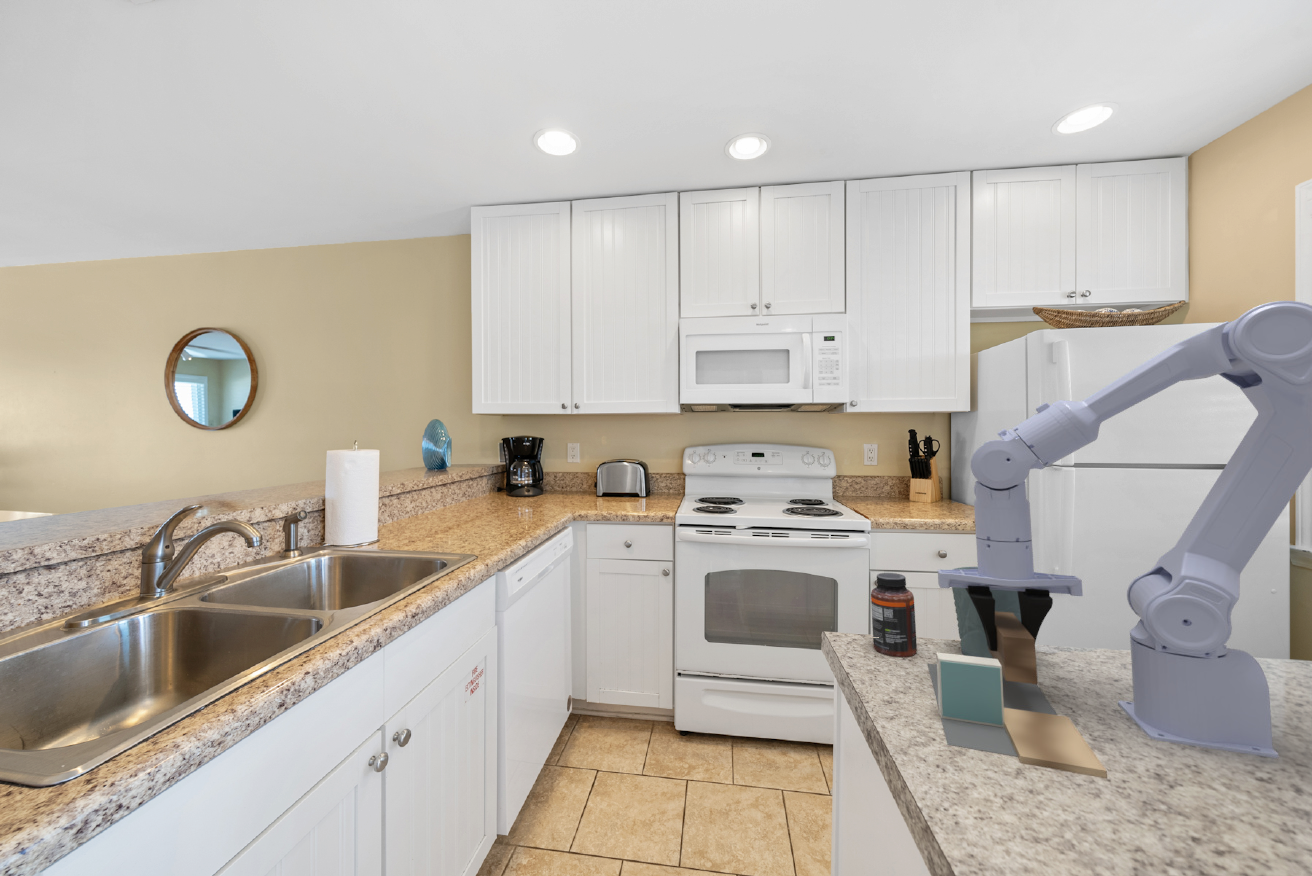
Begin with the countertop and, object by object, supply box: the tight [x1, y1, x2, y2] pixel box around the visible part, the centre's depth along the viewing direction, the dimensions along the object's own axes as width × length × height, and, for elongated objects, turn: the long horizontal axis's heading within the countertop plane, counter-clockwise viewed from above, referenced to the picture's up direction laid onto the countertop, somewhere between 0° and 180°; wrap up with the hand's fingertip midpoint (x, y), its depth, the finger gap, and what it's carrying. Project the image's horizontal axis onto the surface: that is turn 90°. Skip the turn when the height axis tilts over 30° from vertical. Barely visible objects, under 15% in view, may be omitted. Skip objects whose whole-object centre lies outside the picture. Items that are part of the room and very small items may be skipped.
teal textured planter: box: [951, 566, 1021, 659], centre depth 73 cm, size 10×10×12 cm
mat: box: [926, 663, 1059, 758], centre depth 59 cm, size 12×21×1 cm, turn 157°
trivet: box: [1004, 708, 1108, 779], centre depth 52 cm, size 6×10×1 cm, turn 157°
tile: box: [935, 652, 1005, 728], centre depth 57 cm, size 6×2×6 cm, turn 67°
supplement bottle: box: [870, 572, 918, 658], centre depth 77 cm, size 6×6×11 cm
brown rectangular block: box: [988, 611, 1038, 685], centre depth 62 cm, size 3×10×5 cm, turn 157°
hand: (1009, 649), depth 62 cm, fingers closed on brown rectangular block, 3 cm apart
